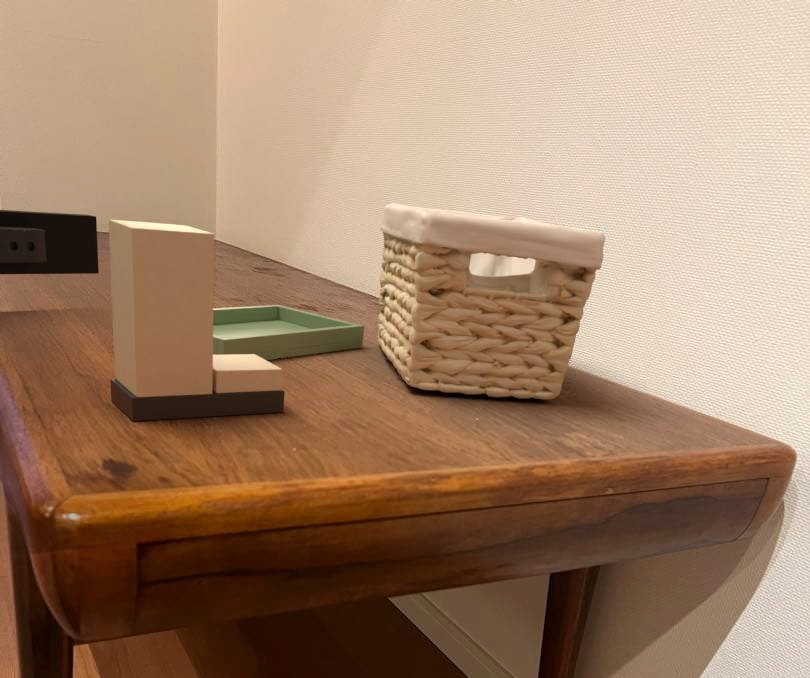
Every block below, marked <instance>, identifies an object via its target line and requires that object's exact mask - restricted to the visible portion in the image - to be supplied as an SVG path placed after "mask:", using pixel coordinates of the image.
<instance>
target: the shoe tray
mask: <svg viewBox="0 0 810 678" xmlns="http://www.w3.org/2000/svg"><path fill="white" fill-rule="evenodd" d="M364 334H365V325H363V324H358V323H356V322H355V323H354V322H350V321H347V320H342V319H338V318H333V317H330V316H325V315H321V314H318V313H314V312H310V311H305V310H301V309H297V308H293V307H289V306H284V305H281V304H267V305H250V306H233V307H218V308H217V307H215V308H213V355H230V354H255V355H257V356H259V357H261V358H263V359H265V360H266V361H272V360H273V361H274V360H279V359H278V358H281V359H287V357H288V358H296V357H302V356H303V357H304V356H310V355H318V354H323V353H324V354H326V353H331V352H339V351H340V352H341V351H346V350H347V351H348V350H354V349H362V348H363V343H364Z"/></svg>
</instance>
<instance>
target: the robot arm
mask: <svg viewBox="0 0 810 678" xmlns="http://www.w3.org/2000/svg"><path fill="white" fill-rule="evenodd" d="M97 224H98V223H97V216H95V215H90V214H81V213H65V212H63V213H61V212H45V211H44V212H43V211H26V210H10V209H0V275H76V274H78V275H79V274H81V275H83V274H84V275H85V274H86V275H88V274H89V275H90V274H93V275H96V274H99V273H100V272H99V269H100V268H99V249H98V227H97V226H98V225H97Z"/></svg>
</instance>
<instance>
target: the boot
mask: <svg viewBox="0 0 810 678" xmlns="http://www.w3.org/2000/svg"><path fill="white" fill-rule="evenodd" d="M108 235H109V236H108V237H109V240H108V241H109V260H110V261H109V262H110V263H109V266H110V288H111V289H110V290H111V291H110V293H111V314H112V316H111V317H112V340H113V342H112V343H113V364H114V365H113V366H114V378H110V381H109V382H110V401H111V402H112V403H113V404H114V405H115V406H116V407H117V408H118V409H119V410H120V411H121V412H122V413H123V414H124V415H125V416H126V417H127V418H129V419H130V421H132V422H145V421H147V422H148V421H163V420H178V419H193V418H194V419H195V418H211V417H212V418H213V417H225V416H228V417H229V416H243V415H246V416H247V415H260V414H261V415H262V414H277V413H284V410H285V409H284V408H285V390H283V389H282V385H283V369H282V367H279V366H278V365H276V364H274V363H272V362H270V361H269V360H265V359H263V358H261V357H259V356H257V355H255V354H230V355H213V309H214V303H215V302H214V292H215V291H214V289H215V288H214V287H215V234H214V233H212V232H210V231H206V230H202V229H200V228H197V227H192V226H190V225H186V224H174V223H173V224H172V223H161V222H148V221H147V222H146V221H137V220H136V221H135V220H123V219H108Z"/></svg>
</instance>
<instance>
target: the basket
mask: <svg viewBox="0 0 810 678" xmlns="http://www.w3.org/2000/svg"><path fill="white" fill-rule="evenodd" d="M380 231H382V235H383V248H382V255H381V256H382V261H381V268H382V270H381V272H380V278H379V285H380V286H379V287H380V288H379V292H380V294H379V299H378V305H379V310H380V312H379V313H378V318H377V322H378V323H377V331H378V333H377V343H378V346H379V347H380V348H381V350H382V351H383V353H384V355H385V356H386V357H387V359H388V360H389V362H391V363H392V366H393V367H394V368H395V369H396V371H397V373H398V374H399V375H400V376H401V379H402V380H403V381H404V382H405V383H406V385H408V386H410V387H413V388H417V389H420V390H423V391H438V392H441V393H446V394H449V393H450V394H452V393H459V394H464V395H467V396H469V395H471V396H472V395H482V394H485V395H486V396H488V397H492V398H508V397H513V398H516V399H520V400H525V399H530V398H532V399H535V400H554V399H556V398H558V396H559V395H561V394H560V393H561V391H562V386H563V382H564V380H565V377H566V373H567V372H568V368H569V365H570V364H569V363H570V360H571V358H572V355H573V352H574V346H575V343H576V338H577V334H578V333H579V331H580V327H581V320H582V319H583V316H584V308H585V306H586V304H587V301H588V299H589V298H590V296H591V292H592V288H593V283H594V282H595V280H596V272H597V271H598V270H599V271H600V270H601V269H602V266H603V265H602V264H603V260H604V247H605V243H606V235H605V233H604V232H603V231H599V230H592V229H586V228H577V227H570V226H565V225H557V224H556V225H555V224H552V223H547V222H544V221H543V222H542V221H539V220H535V219H530V218H527V217H525V216H520V217H517V216H501V215H494V214H487V213H478V212H471V211H470V212H469V211H463V210H454V209H453V210H452V209H451V210H450V209H441V208H431V207H430V208H429V207H423V206H422V207H421V206H415V205H408V204H400V203H395V202H394V203H388V204H386V205H384V208H383V217H382V219H381V225H380Z"/></svg>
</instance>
